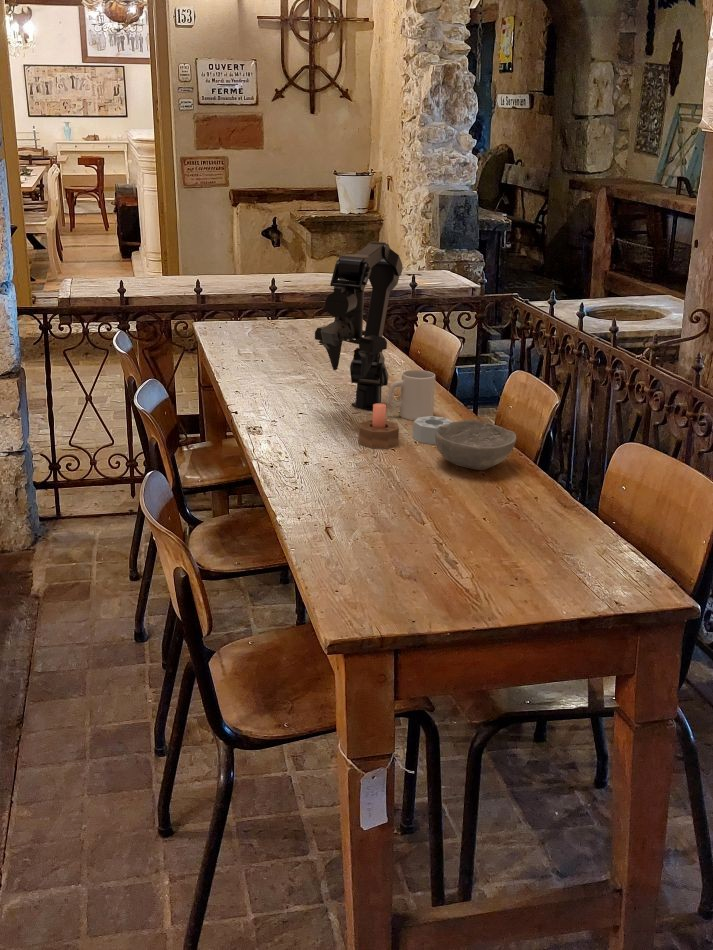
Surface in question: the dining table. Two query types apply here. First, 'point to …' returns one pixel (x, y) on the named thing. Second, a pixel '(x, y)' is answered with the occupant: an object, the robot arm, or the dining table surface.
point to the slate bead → (428, 428)
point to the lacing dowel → (379, 416)
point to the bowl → (474, 443)
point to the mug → (414, 394)
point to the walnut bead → (378, 435)
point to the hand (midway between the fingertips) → (349, 373)
